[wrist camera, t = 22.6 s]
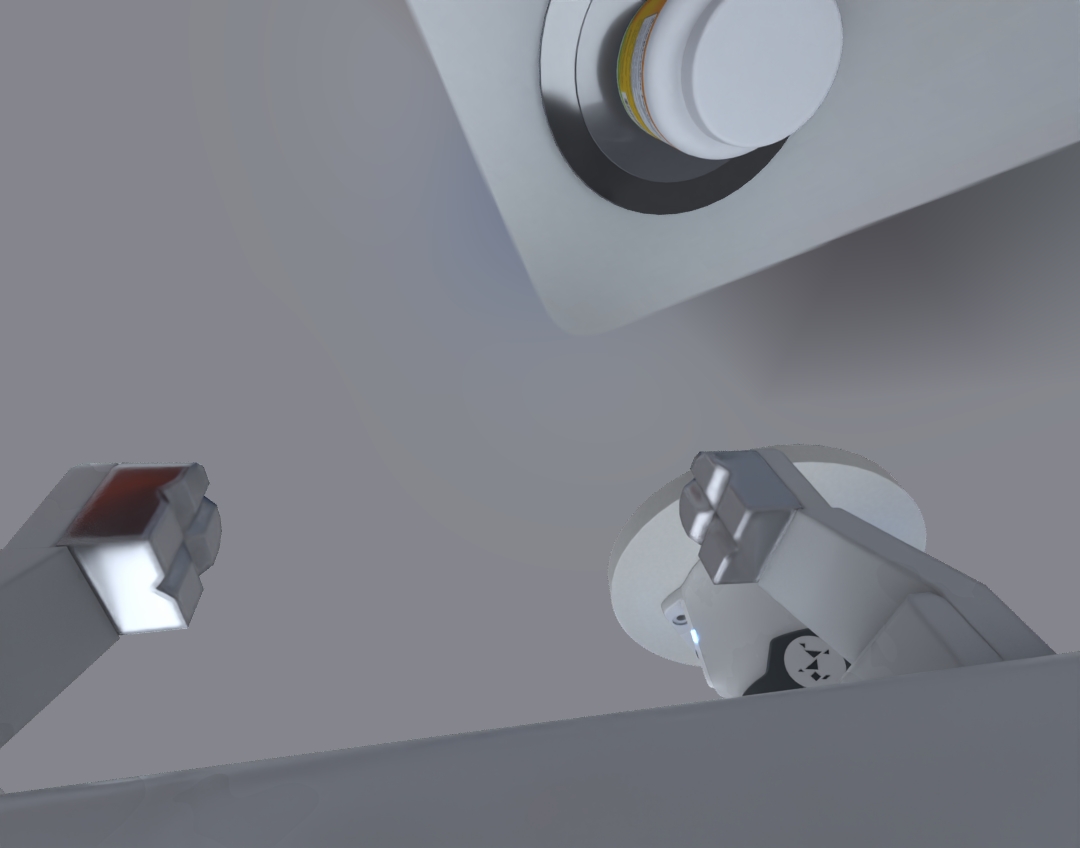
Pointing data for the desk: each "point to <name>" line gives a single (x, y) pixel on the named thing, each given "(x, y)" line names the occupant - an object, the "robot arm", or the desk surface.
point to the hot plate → (621, 119)
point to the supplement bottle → (728, 70)
